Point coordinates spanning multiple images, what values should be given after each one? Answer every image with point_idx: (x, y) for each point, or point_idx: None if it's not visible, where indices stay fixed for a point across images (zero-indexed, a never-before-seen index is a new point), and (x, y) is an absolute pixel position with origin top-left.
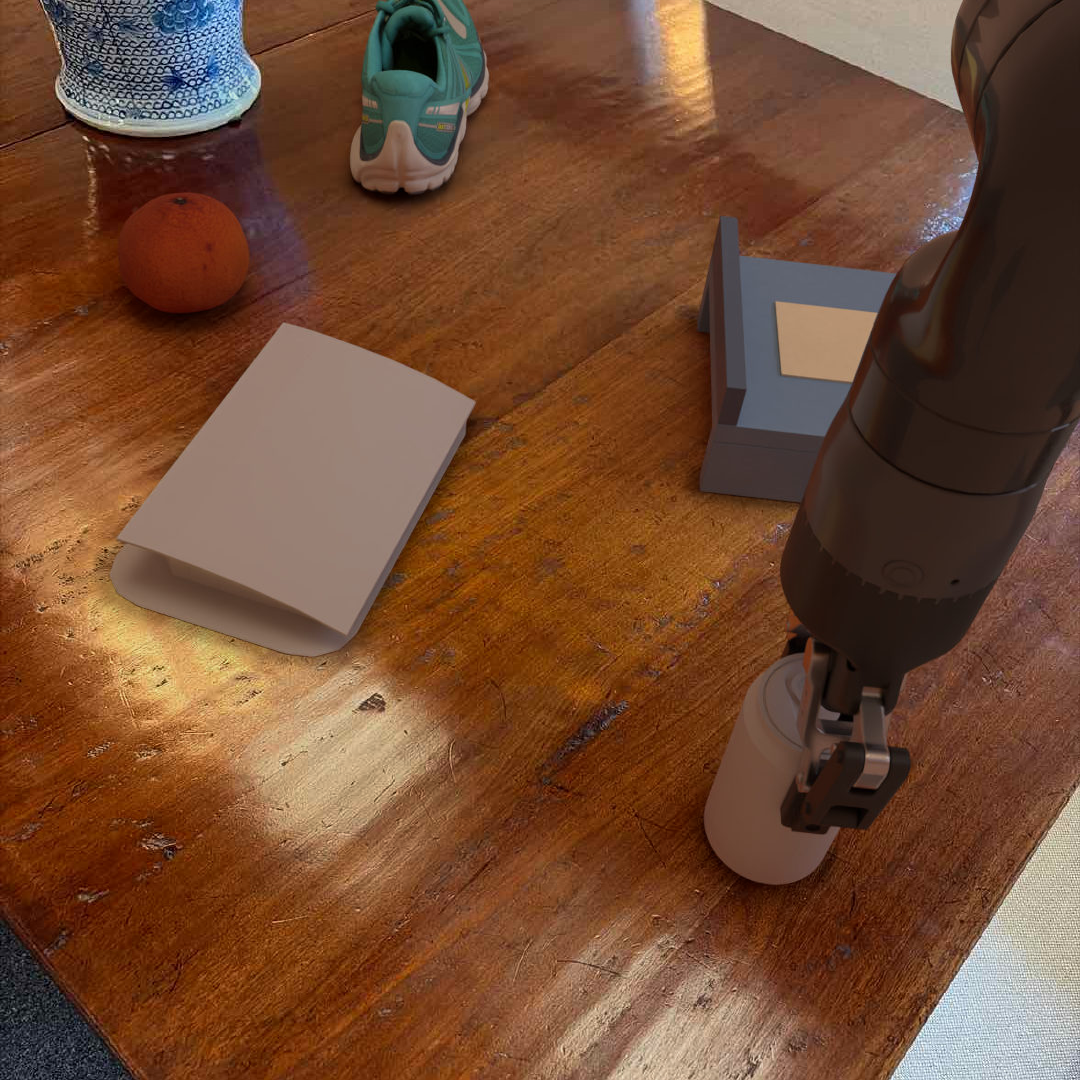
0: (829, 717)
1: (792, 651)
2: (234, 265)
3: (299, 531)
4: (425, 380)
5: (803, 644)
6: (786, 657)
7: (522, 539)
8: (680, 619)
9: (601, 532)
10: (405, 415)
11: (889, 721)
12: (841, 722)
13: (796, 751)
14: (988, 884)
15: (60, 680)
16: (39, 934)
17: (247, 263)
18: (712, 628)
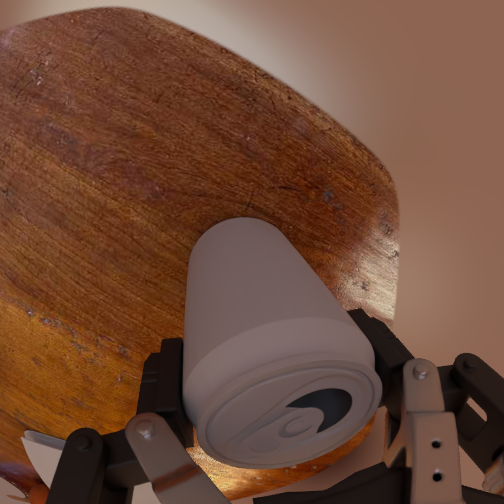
0: (313, 415)
1: (192, 444)
2: (45, 499)
3: (148, 492)
4: (31, 458)
5: (185, 449)
6: (220, 461)
7: (72, 413)
8: (70, 336)
9: (39, 380)
10: (55, 466)
11: (459, 456)
12: (398, 459)
13: (363, 425)
14: (250, 70)
15: (234, 494)
16: (326, 467)
17: (38, 492)
18: (65, 315)
